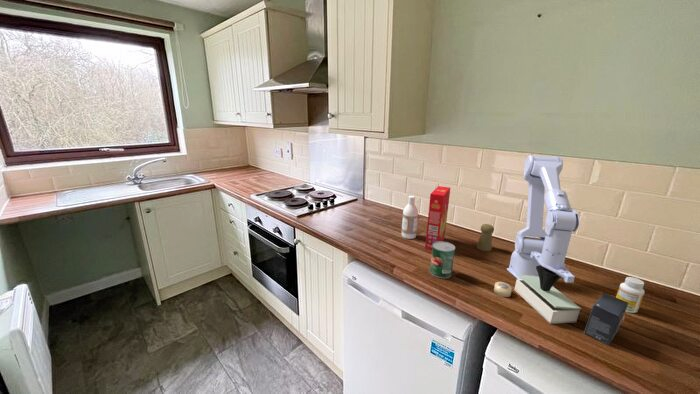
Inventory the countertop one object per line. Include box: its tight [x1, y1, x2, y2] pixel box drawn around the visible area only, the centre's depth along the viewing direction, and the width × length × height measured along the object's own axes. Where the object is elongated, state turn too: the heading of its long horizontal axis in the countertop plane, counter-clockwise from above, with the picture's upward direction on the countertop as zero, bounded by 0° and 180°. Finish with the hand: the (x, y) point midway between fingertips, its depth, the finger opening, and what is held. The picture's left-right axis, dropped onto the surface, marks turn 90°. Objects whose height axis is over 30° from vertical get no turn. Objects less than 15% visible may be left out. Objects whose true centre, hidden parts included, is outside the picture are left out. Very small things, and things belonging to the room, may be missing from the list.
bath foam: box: [401, 195, 419, 240], centre depth 133 cm, size 7×7×20 cm
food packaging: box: [424, 185, 451, 251], centre depth 125 cm, size 15×5×25 cm, turn 151°
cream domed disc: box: [493, 281, 513, 298], centre depth 94 cm, size 5×5×2 cm
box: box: [583, 292, 628, 346], centre depth 76 cm, size 9×6×10 cm, turn 126°
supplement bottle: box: [615, 276, 645, 314], centre depth 86 cm, size 5×5×10 cm
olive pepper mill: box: [476, 223, 495, 252], centre depth 123 cm, size 6×6×11 cm
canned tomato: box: [429, 240, 456, 279], centre depth 104 cm, size 8×8×11 cm
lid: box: [518, 275, 582, 311], centre depth 87 cm, size 16×8×1 cm, turn 5°
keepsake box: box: [513, 278, 580, 325], centre depth 88 cm, size 16×8×4 cm, turn 5°
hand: (544, 289), depth 87 cm, fingers closed, pressing on lid
